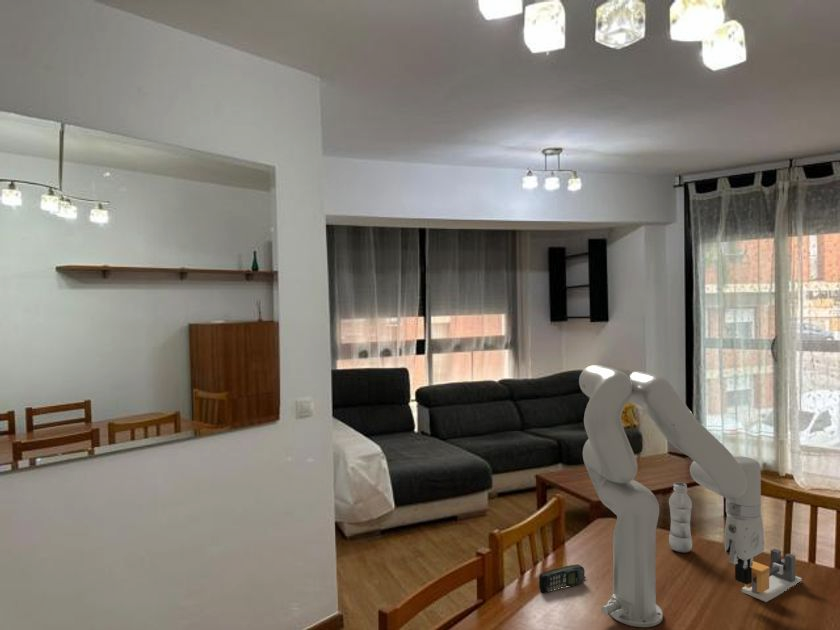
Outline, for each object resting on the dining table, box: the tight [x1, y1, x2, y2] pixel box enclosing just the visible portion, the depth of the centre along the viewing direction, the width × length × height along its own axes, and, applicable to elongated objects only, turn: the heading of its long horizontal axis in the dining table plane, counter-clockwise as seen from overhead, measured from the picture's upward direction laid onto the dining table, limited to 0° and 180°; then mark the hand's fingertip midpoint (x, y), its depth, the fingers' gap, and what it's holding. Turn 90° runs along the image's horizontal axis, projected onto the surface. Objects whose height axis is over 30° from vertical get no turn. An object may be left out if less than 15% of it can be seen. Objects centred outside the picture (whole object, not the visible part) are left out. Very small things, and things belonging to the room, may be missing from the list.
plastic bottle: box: [668, 481, 693, 553], centre depth 171 cm, size 6×7×20 cm
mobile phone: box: [538, 564, 587, 593], centre depth 151 cm, size 5×3×15 cm
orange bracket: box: [744, 560, 770, 593], centre depth 145 cm, size 4×4×6 cm
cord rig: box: [741, 548, 802, 603], centre depth 149 cm, size 18×6×8 cm, turn 122°
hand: (743, 581), depth 141 cm, fingers closed
